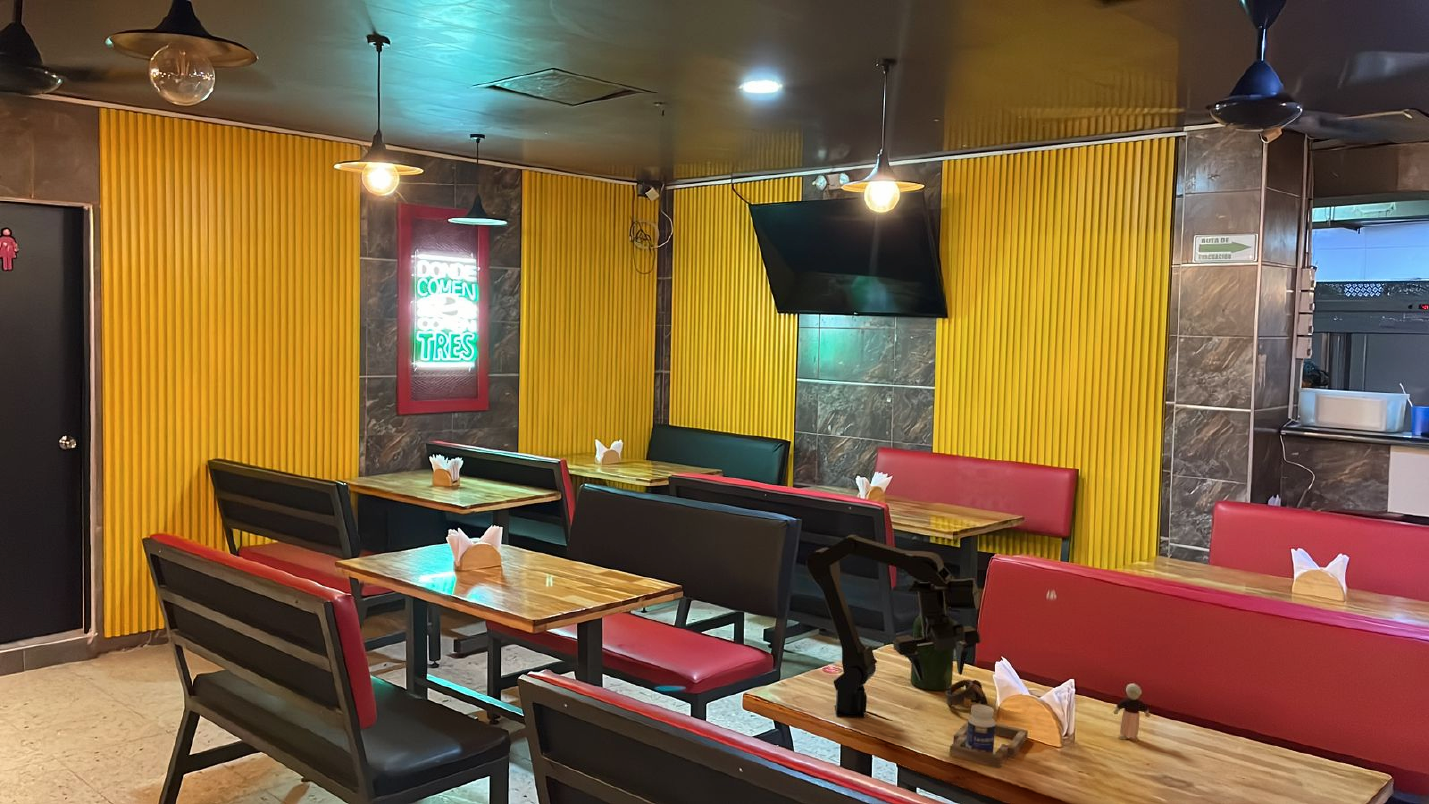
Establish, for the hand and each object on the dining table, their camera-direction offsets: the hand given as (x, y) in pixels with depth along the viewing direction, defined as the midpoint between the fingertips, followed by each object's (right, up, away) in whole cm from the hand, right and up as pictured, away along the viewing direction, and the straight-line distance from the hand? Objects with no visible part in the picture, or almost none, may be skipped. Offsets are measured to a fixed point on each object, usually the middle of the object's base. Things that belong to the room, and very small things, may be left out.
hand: (940, 677), depth 240 cm
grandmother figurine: (+43, -14, +1) cm, 45 cm away
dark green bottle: (+4, -10, +32) cm, 34 cm away
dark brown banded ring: (+10, -12, +15) cm, 22 cm away
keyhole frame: (+8, -13, -9) cm, 18 cm away
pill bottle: (+6, -13, -13) cm, 19 cm away
